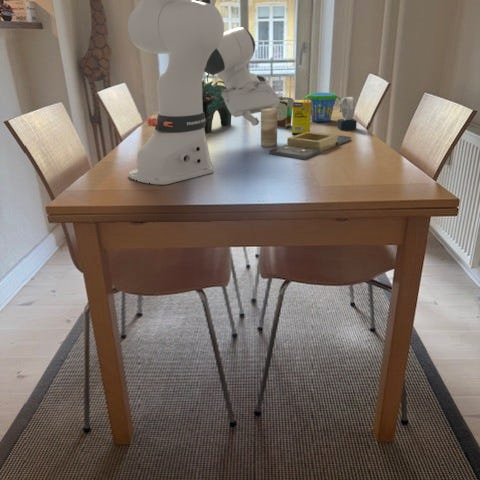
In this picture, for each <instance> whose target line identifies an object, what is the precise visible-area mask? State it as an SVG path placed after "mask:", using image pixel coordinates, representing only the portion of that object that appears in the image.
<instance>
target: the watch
mask: <svg viewBox="0 0 480 480" xmlns="http://www.w3.org/2000/svg"><path fill="white" fill-rule="evenodd" d="M338 106H339V107H340V109H341V116H342V118H338V119H337V129H338V130H340V131H356V130H357V124H358V123H357V122H358V120H356V119H355V118H354V115H355V98H354V97H353V96H345V97H343V98H341V101H340V100H339V102H338Z"/></svg>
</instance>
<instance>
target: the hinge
mask: <svg viewBox="0 0 480 480" xmlns="http://www.w3.org/2000/svg"><path fill="white" fill-rule="evenodd" d="M351 141H352V136H348V135H338V134H329V133H322V132H311V131H310V132H304V133H301V134H298V135H291V136H290V137H287V141H286V142H287V143H286V144H284V145H281V146H276V147H273V148H272V149H269V150H268V154H269V155H274V156H280V157H281V156H282V157H286V158H287V157H288V158H292V159H293V158H294V159H298V160H307V159H309V158H311V157H315V156H316V155H319V154H321V153H322V152H323V151H326V150H329V149H331V148H333V147H336V146H341V145H344V144H345V143H347V142H351Z"/></svg>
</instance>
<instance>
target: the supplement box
mask: <svg viewBox="0 0 480 480" xmlns="http://www.w3.org/2000/svg"><path fill="white" fill-rule="evenodd" d="M293 100H294V102H293V108H292V118H291V136H295V135H298V134H301V133H304V132H311V121H312V119H311V100H310V99H305V100H303V99H293Z"/></svg>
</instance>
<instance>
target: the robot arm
mask: <svg viewBox="0 0 480 480" xmlns="http://www.w3.org/2000/svg"><path fill="white" fill-rule="evenodd" d="M216 3H217V0H186V1H185V0H139V2H138V4H137V6H136V7H135V8H134V10H132V12H131V13H130V15H129V17H128V22H127V31H128V36H129V39H130V41H131V43H132V44H133V45H134V46H135V47H136V48H137V49H139V50H141V51H145V52H147V53H151V54H155V55H156V54H159V55H162V54H163V55H164V54H168V55H169V59H168V60H169V61H168V65H167V68H166V70H165V72H164V73H162V74H161V75H160V76H159V77H158V79H157V80H156V81H157V82H156V95H157V104H158V105H157V106H158V114H157V117H156V118H154V117H153V118H152V117H148V118H147V120H146V122H145V123H146V125H147V126H149V127H153V128H154V129H155V130H154V132H153V133H152V134H151V136H150V137H149V138H148V140H147V141H146V142H145V143H144V144H143V145H142V147H140V149H139V150H138V152H137V158H136V166H137V167H136V169H133V170H131V171H129V172H128V177H129V179H131V180H133V179H134V180H133V181H136V180H137V181H136V182H140V183H144V184H149V183H150V184H149V185H169V184H174V183H178V182H181V181H185V180H189V179H193V178H197V177H200V176H206V175H209V174H212V173H214V167H213V164H212V161H211V156H210V151H209V145H208V139H207V136H206V133H205V130H204V127H205V126H206V124H205V121H206V119H205V113H204V112H203V102H202V81H203V78H204V73H206V74H207V75H208V74H209V75H211V76H213V75H214V76H216V75H217V77H218V78H219V79H220V80H221V81H223V82H224V83H223V85H224V84H225V85H224V86H225V87H226V88H227V89H224V90H223V91H222V93H221V95H222V97H223V98H224V101H225V104H226V106H227V108H228V110H229V112H230V113H231V115H232V116H231V117H234V118H239V117H243V118H244V119H245V120H246V121H248V122H249V123H251V125H252V126H253V127H255V126H258V125H259V124H260V120H259V118H258V117H255V116H254V115H253V114H257V113H258V114H259V113H261V109H265V108H275V109H276V107H277V106H278V105H279V103H280V99H279V97H280V96H278V94H277V93H276V91H275V89H274V88H273V87H272V85H270V84H268V79H267V78H266V77H265V76H262V75H257V74H256V73H254V72H251V71H250V69H248V68H247V64H248V63H250V61H251V60H252V58H253V56H254V53H255V51H256V50H255V49H256V41H255V39H254V36H253V35H252V33H251V32H250V31H249V30H248V29H246V27H243V26H239V27H235V28H232V29H229V30H226V31H225V24H224V23H225V22H224V19H223V16H222V13H221V12H220V10H219V9H218V8H217V7H216ZM278 118H279V116H278V115H277V119H278Z"/></svg>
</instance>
